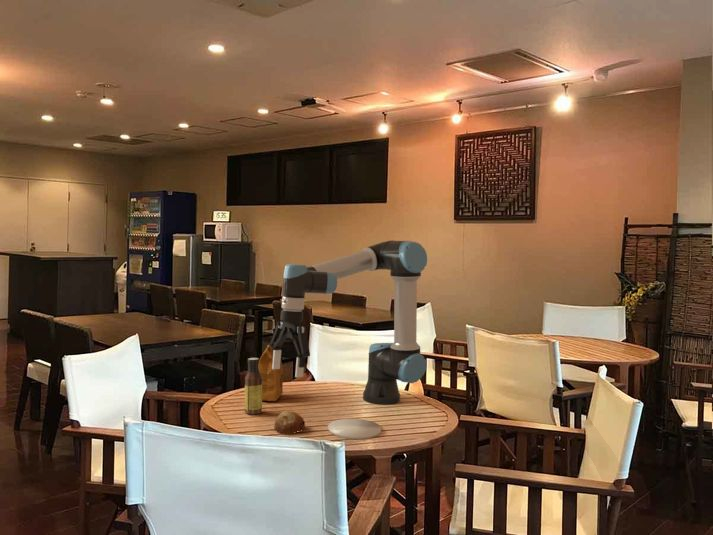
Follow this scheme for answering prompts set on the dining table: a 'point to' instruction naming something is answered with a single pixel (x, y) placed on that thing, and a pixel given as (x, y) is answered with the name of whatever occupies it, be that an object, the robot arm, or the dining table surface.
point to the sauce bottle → (253, 388)
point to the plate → (354, 428)
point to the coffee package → (270, 376)
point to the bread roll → (289, 422)
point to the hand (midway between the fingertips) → (287, 372)
